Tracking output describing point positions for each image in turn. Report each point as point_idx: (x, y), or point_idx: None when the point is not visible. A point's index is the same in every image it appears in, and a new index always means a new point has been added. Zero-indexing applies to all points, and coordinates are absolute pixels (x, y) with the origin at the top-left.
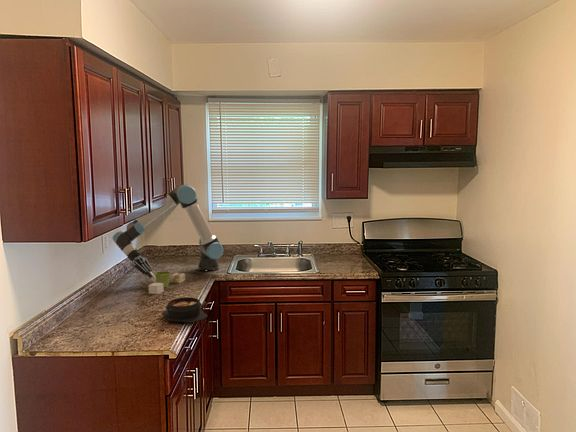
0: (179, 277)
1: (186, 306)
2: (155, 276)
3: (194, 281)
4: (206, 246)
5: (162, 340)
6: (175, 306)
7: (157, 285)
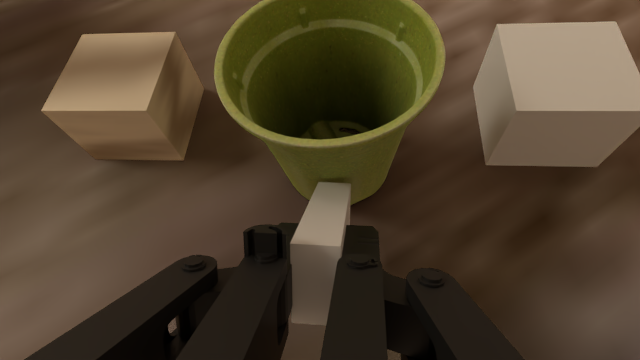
0: (180, 51)
1: None
2: (317, 196)
3: (145, 28)
4: None
5: None
6: None
7: (601, 28)
